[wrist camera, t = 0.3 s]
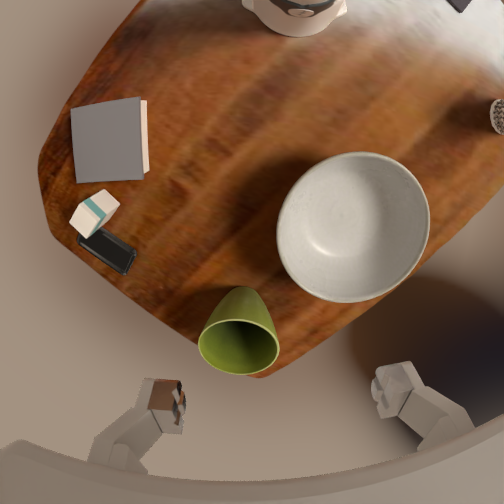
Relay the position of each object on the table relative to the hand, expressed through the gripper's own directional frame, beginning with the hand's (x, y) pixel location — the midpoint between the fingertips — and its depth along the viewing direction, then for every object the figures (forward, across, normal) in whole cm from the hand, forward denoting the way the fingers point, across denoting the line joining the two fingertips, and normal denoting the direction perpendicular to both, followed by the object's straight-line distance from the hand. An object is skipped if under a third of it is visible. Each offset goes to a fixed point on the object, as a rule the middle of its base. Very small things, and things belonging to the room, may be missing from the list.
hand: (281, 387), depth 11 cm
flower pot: (+48, +3, +29) cm, 56 cm away
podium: (+49, +27, -9) cm, 57 cm away
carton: (+50, +31, +5) cm, 59 cm away
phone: (+51, +34, +15) cm, 63 cm away
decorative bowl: (+46, -18, +8) cm, 50 cm away
